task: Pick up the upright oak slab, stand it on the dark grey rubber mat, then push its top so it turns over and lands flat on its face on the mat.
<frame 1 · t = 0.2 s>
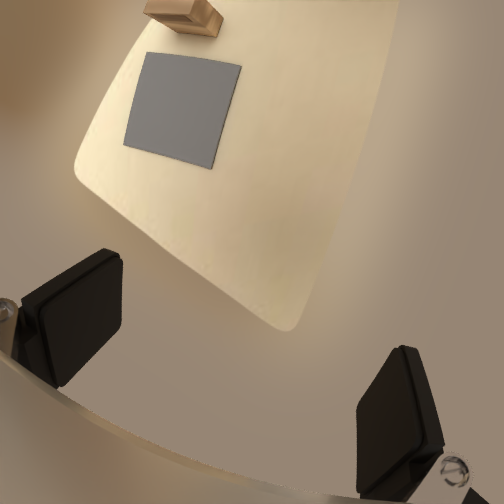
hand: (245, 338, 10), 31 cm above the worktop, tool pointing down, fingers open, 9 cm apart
rubber mat: (177, 105, 37), on the worktop
oak slab: (199, 24, 33), on the worktop
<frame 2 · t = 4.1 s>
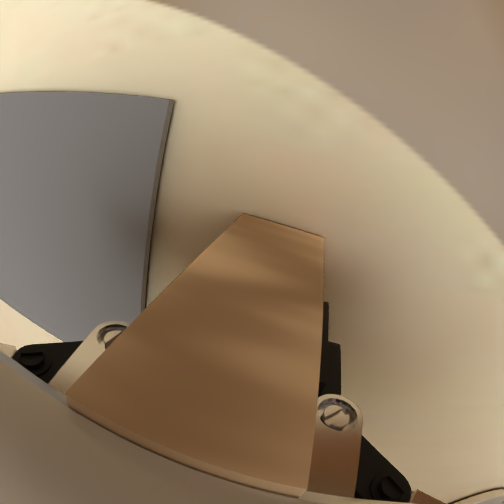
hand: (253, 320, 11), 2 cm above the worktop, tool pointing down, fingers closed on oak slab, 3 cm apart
rubber mat: (41, 226, 14), on the worktop
oak slab: (262, 296, 12), on the worktop, touching gripper
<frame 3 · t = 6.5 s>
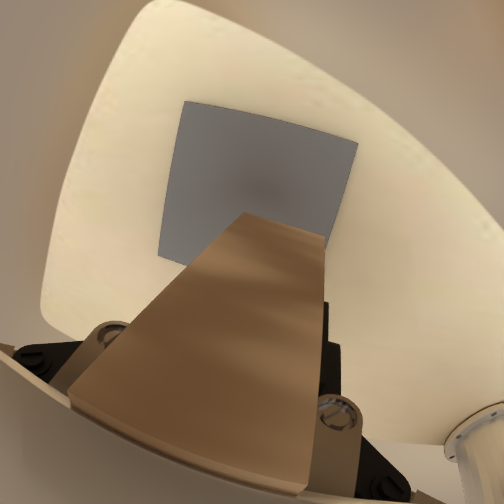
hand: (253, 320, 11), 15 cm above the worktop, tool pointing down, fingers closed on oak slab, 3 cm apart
rubber mat: (247, 202, 25), on the worktop
oak slab: (263, 295, 12), point 13 cm above the worktop, touching gripper
when the fingers open (2 cm above the worktop, at t = 8.9 s): oak slab stays where it is, resting on rubber mat.
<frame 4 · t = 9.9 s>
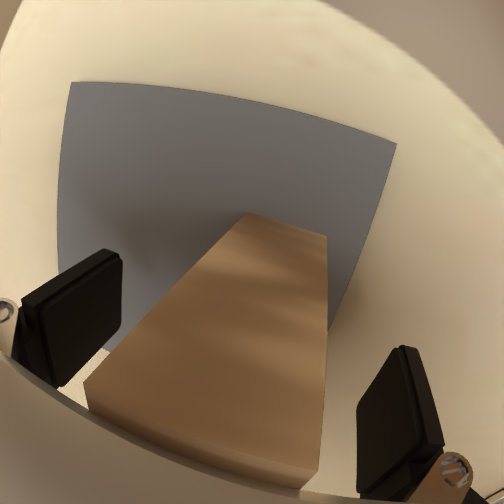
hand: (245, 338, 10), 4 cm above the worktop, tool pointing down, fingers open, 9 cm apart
rubber mat: (176, 259, 13), on the worktop
oak slab: (266, 293, 12), resting on rubber mat
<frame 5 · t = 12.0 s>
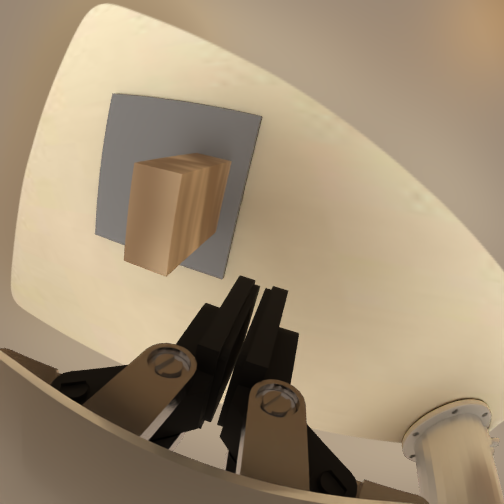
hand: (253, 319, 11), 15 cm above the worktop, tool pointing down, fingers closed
rubber mat: (164, 180, 26), on the worktop
oak slab: (206, 192, 25), resting on rubber mat
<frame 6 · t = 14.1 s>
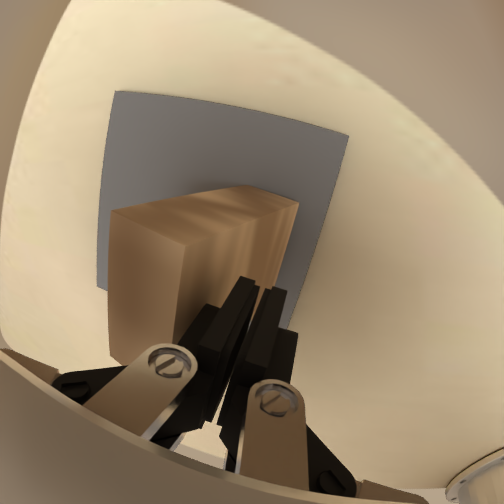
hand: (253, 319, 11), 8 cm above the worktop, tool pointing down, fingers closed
rubber mat: (195, 222, 18), on the worktop
oak slab: (258, 246, 17), point 1 cm above the worktop, tilted 14°, touching rubber mat
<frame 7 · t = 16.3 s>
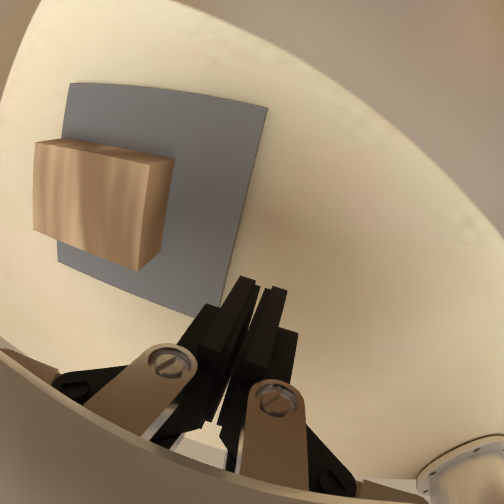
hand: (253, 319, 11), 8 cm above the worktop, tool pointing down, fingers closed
rubber mat: (135, 197, 19), on the worktop
oak slab: (155, 214, 17), point 2 cm above the worktop, tilted 89°, touching rubber mat
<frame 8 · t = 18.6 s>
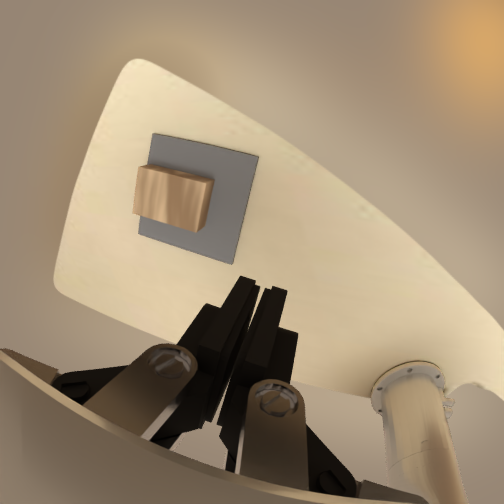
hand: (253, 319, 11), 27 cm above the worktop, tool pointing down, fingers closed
rubber mat: (192, 197, 39), on the worktop
oak slab: (205, 205, 37), point 2 cm above the worktop, tilted 89°, touching rubber mat
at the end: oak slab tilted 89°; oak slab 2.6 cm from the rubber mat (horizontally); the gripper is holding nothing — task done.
